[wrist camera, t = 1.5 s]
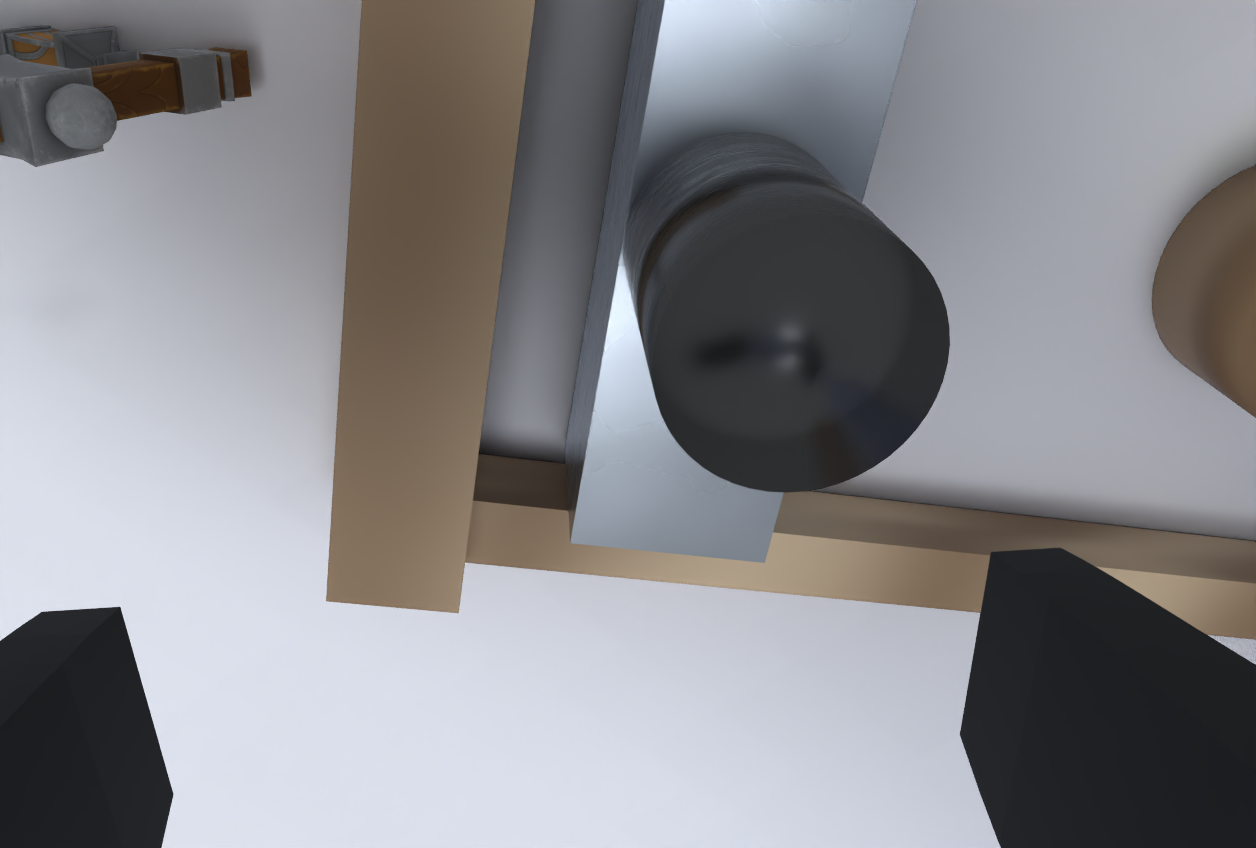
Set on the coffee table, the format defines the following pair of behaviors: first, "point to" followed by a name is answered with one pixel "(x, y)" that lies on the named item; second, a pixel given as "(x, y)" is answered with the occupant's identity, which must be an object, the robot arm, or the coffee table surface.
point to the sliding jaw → (746, 279)
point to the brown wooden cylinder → (1213, 290)
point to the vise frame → (537, 490)
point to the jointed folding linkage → (99, 88)
